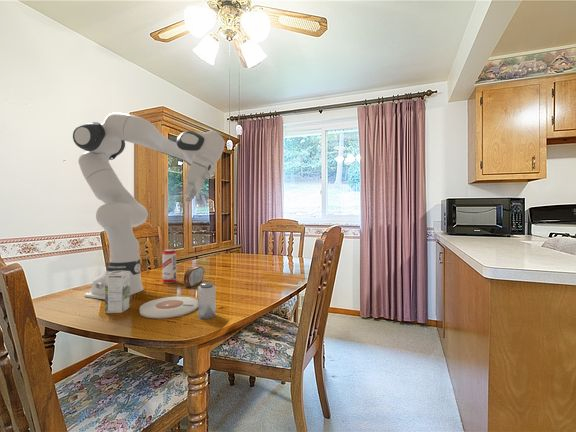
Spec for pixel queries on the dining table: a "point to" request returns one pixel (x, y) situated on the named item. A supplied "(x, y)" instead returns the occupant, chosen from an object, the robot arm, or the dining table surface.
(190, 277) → the tin
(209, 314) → the white drink can
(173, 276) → the beer can
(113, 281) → the syrup box
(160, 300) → the disc
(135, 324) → the dining table surface
